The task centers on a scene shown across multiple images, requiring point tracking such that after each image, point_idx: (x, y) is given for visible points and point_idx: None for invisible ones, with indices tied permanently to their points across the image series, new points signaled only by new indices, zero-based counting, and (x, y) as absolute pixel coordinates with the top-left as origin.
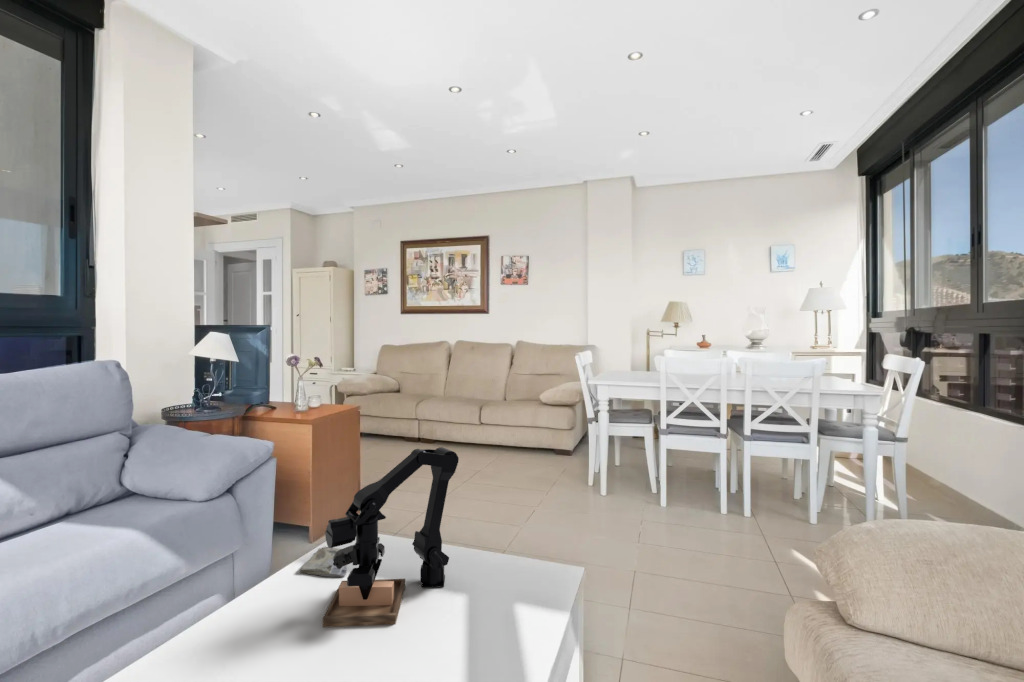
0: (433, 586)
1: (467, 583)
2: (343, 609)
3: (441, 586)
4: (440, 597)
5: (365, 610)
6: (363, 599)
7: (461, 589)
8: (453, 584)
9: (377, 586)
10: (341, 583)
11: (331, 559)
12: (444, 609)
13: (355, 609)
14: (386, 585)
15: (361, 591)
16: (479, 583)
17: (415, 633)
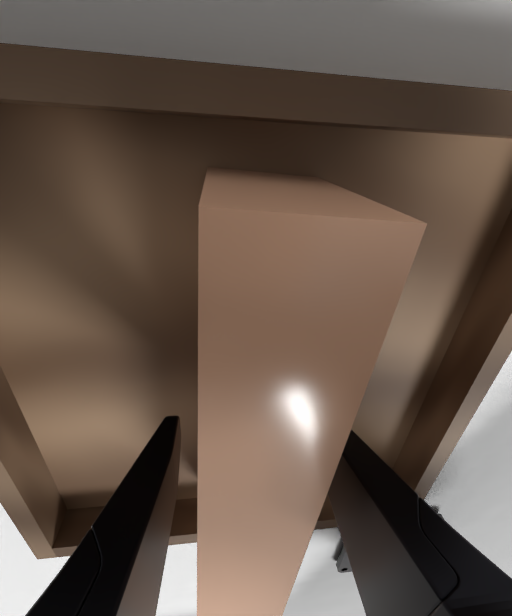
0: (343, 552)
1: (340, 594)
2: (148, 226)
3: (337, 565)
4: None
5: (142, 384)
6: (166, 417)
7: (308, 591)
8: (347, 575)
9: (207, 577)
10: (363, 220)
11: None
12: (188, 585)
13: (151, 322)
14: (221, 605)
15: (109, 505)
16: (331, 610)
17: (10, 559)
